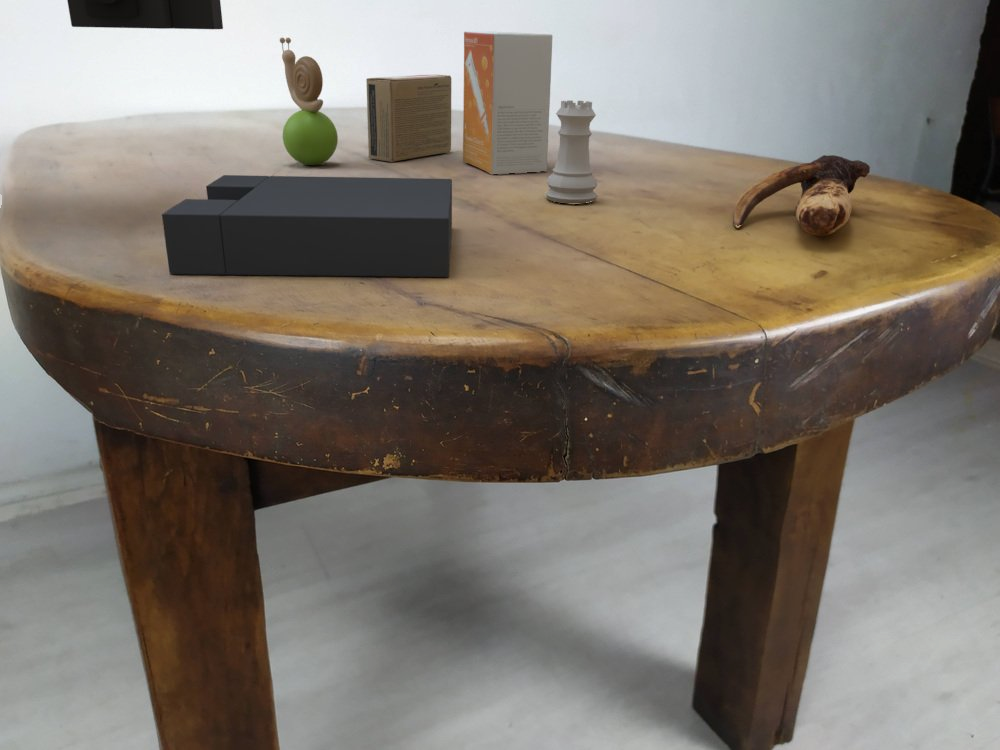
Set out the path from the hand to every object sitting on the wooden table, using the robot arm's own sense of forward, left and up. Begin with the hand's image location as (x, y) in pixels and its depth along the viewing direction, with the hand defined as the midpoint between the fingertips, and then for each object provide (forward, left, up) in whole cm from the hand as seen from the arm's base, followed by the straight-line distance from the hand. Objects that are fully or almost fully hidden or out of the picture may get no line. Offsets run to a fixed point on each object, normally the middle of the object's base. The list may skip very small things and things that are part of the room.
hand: (131, 14), depth 57 cm
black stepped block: (+1, 0, -1) cm, 2 cm away
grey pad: (+14, -10, -14) cm, 22 cm away
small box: (+27, +25, -14) cm, 39 cm away
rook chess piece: (+32, +8, -14) cm, 36 cm away
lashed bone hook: (+49, 0, -14) cm, 51 cm away
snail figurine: (+7, +25, -14) cm, 29 cm away
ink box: (+17, +32, -14) cm, 38 cm away
